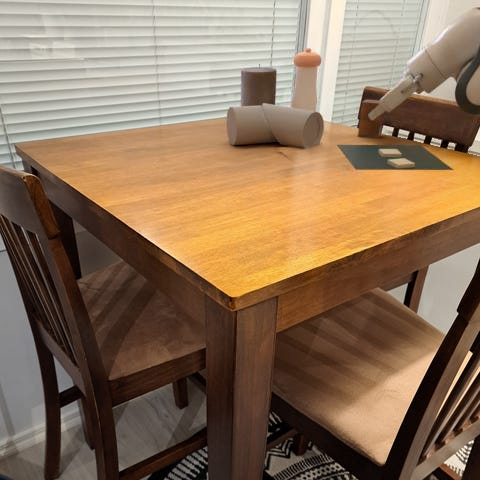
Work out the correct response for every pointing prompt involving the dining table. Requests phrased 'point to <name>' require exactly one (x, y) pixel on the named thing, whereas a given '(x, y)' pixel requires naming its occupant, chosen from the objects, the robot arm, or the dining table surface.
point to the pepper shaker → (306, 80)
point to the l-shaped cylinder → (274, 125)
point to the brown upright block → (367, 125)
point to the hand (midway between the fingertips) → (373, 114)
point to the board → (372, 160)
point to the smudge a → (389, 153)
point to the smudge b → (400, 163)
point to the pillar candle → (258, 86)
